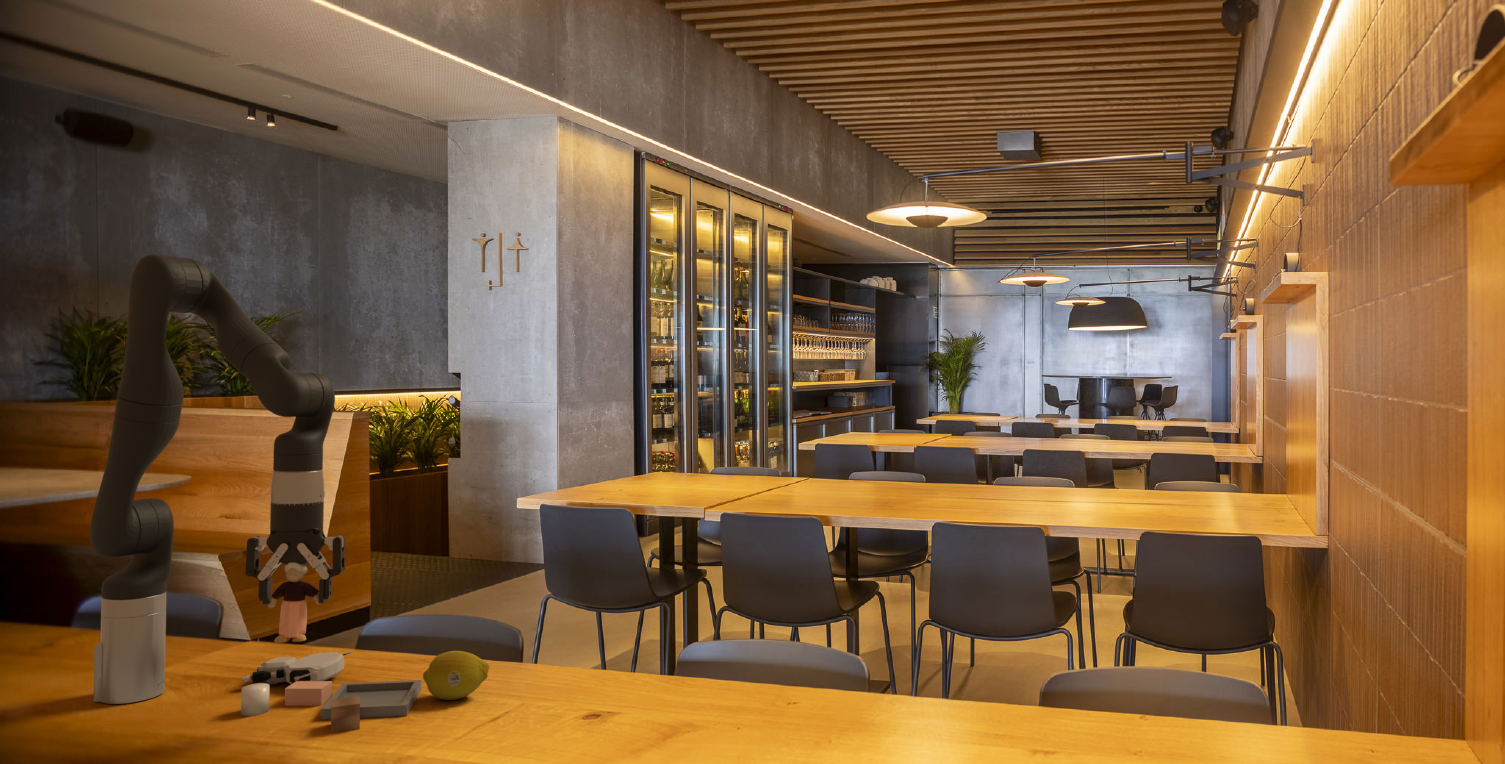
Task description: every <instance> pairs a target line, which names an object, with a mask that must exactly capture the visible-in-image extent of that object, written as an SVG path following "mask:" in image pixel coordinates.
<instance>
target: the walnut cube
mask: <svg viewBox="0 0 1505 764" xmlns="http://www.w3.org/2000/svg"><path fill="white" fill-rule="evenodd" d="M360 722H361V718H360V699H359V696H354V697H346V698H337V699H331V719H330V733H331V734H333V733H340V732H348V731H356V730H360V729H361V726H360V725H361V723H360Z"/></svg>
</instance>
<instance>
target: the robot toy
mask: <svg viewBox="0 0 1505 764" xmlns="http://www.w3.org/2000/svg"><path fill="white" fill-rule="evenodd" d="M352 653H353V651H347V652H346V653H343V654H342V653H340V652H337V651H336V652H335V651H334V652H333V651H331V652H319V653H314V654H309V655H305V656H304V657H302V658H299V659H297V658H296V657H294V656H279V657H274V658H271V659H269V660H267V661H266V662H263V664H259V665H258V666H257V669H256V671H253V672H251V673H252V674H251V675H250V674H249V675H245V676H243V677H242V678H241V682H242V683H248V682H251V681H252V684H257V683H266V684H269V685H277V684H278V683H285V682H286V683H288V684H290V685H291V684H293V683H294V682H296V681H326V680H327V681H328V679H331V678H333V677H335V676H337V675H338V674H339V673H340V672H341V671H343V669H344V668H345V656H347V655H351V654H352Z"/></svg>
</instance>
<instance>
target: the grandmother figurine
mask: <svg viewBox="0 0 1505 764" xmlns="http://www.w3.org/2000/svg"><path fill="white" fill-rule="evenodd" d="M283 569H284V570H283V571H284V573H285V578H286V579H287V580H288V581H284V582H282V583H281V584H280V585H279V586H278V587H277V588H276V589H275V590H274V592H272V597H271V599H270V602H269V604H267V607H268V609H273V608H275V606H276V604H277V602H278V601H279V599H281V598H283V600H282V602H281V605H280V615H279V616H280V617H279V624H278V625H279V627H278V636H277V637H275V639H274V643H277V644H281V643H286V642H289V641H290V640H291V641H292V642H295V643H297V642H304V641H306V640H307V637H306V635H305V634H306V632H307V622H308V605H307V599H306V597H309V598H311V599H313V600H314V602H315V604H316V605H321V604H322V603H319V588H318V589H317V588H316V586H315V585H312V584H311V583H309V582H306V581H303V580H302V579H304V576H305V575H306V574H308V571H309V569H308V567H307V566H306V564H298V563H295V562H293V563H288V564H287V565H284V568H283ZM291 638H292V639H291Z"/></svg>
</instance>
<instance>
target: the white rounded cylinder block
mask: <svg viewBox="0 0 1505 764" xmlns="http://www.w3.org/2000/svg"><path fill="white" fill-rule="evenodd" d="M270 685H271V684H268V683H266V682H260V683H254V684H253V683H252V684H247V685H245V686H243V687H241V696H240V697H241V699H240V700H241V701H240V702H241V703H240V705H241V706H240V714H241V716H244V717H255V716H261V715H263V714H267V713H268V712H269V711H270Z"/></svg>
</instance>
